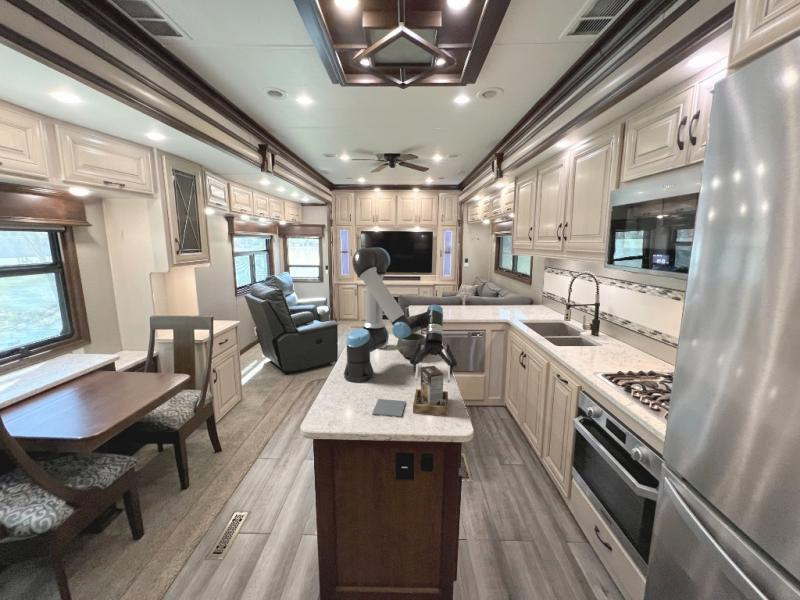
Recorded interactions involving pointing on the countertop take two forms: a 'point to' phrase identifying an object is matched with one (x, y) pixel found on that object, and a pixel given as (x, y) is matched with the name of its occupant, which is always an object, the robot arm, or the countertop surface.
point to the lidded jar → (384, 345)
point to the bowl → (411, 344)
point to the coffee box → (431, 386)
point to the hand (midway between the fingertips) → (432, 380)
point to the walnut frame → (430, 408)
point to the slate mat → (389, 407)
